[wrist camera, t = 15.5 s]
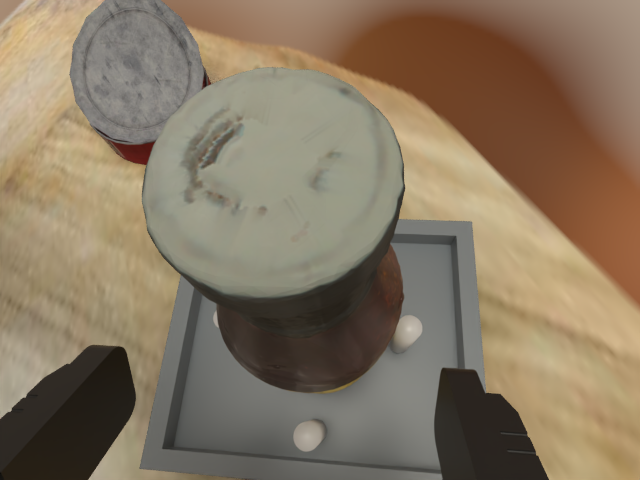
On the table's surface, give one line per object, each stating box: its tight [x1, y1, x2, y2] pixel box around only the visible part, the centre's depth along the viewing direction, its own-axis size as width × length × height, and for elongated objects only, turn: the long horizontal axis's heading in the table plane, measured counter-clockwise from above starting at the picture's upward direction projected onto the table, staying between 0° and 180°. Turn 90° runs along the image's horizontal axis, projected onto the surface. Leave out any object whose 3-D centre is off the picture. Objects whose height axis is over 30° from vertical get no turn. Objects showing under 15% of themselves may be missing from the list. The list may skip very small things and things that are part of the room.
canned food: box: [70, 0, 211, 165], centre depth 32 cm, size 11×10×10 cm
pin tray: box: [140, 219, 486, 480], centre depth 23 cm, size 18×15×6 cm
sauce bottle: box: [142, 67, 405, 394], centre depth 15 cm, size 7×6×20 cm
